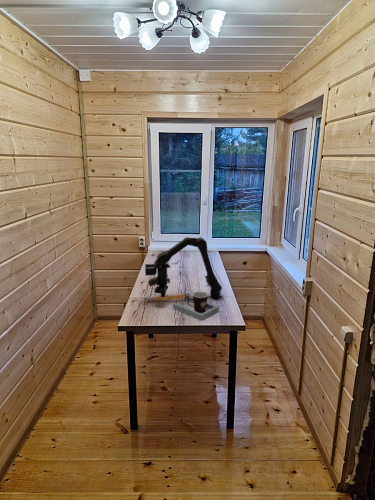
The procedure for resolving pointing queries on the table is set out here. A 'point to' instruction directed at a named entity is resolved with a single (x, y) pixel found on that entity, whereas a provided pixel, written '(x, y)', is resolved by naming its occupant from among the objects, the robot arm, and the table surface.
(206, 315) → the frame
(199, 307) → the coffee mug
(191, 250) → the table surface
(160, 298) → the orange bar
